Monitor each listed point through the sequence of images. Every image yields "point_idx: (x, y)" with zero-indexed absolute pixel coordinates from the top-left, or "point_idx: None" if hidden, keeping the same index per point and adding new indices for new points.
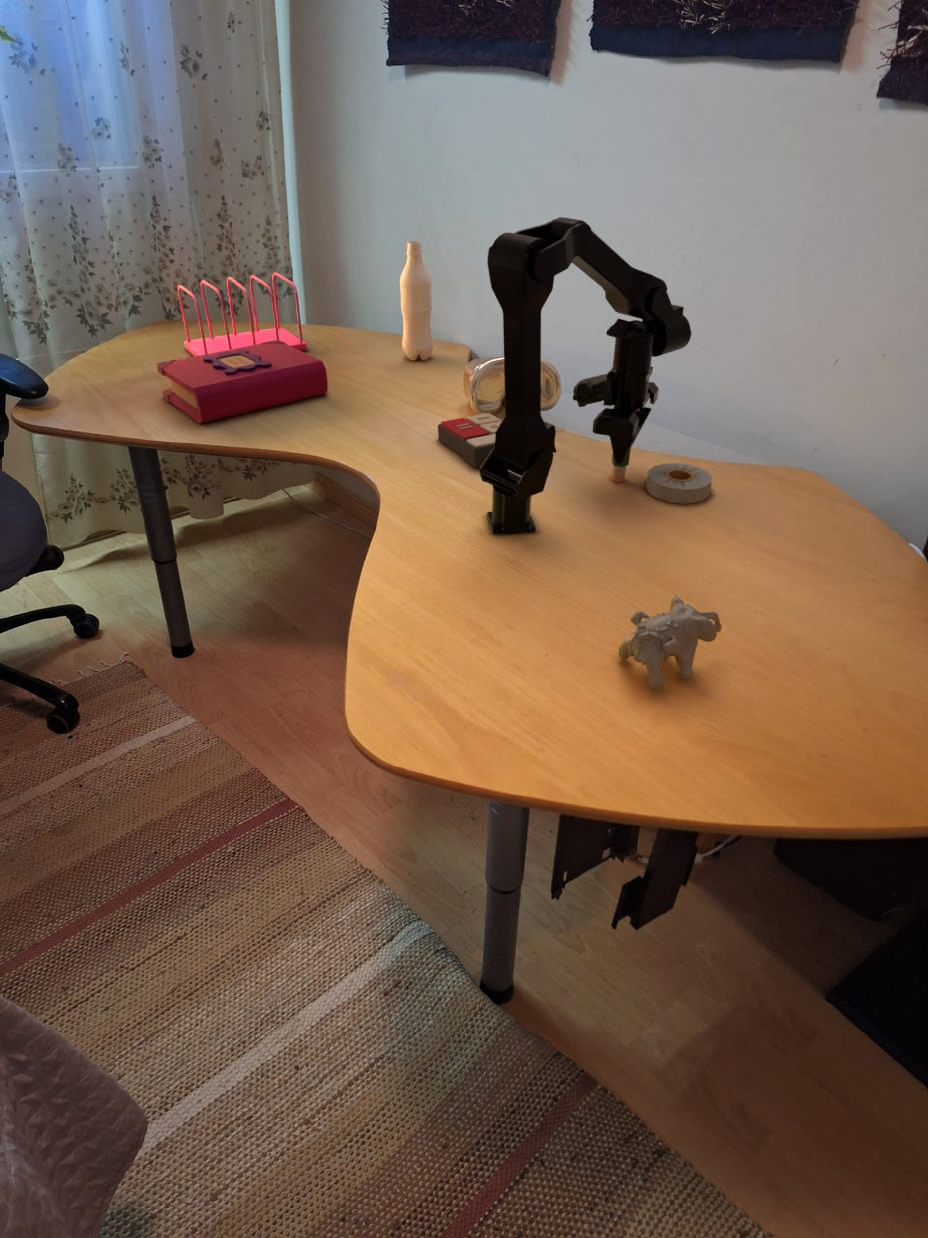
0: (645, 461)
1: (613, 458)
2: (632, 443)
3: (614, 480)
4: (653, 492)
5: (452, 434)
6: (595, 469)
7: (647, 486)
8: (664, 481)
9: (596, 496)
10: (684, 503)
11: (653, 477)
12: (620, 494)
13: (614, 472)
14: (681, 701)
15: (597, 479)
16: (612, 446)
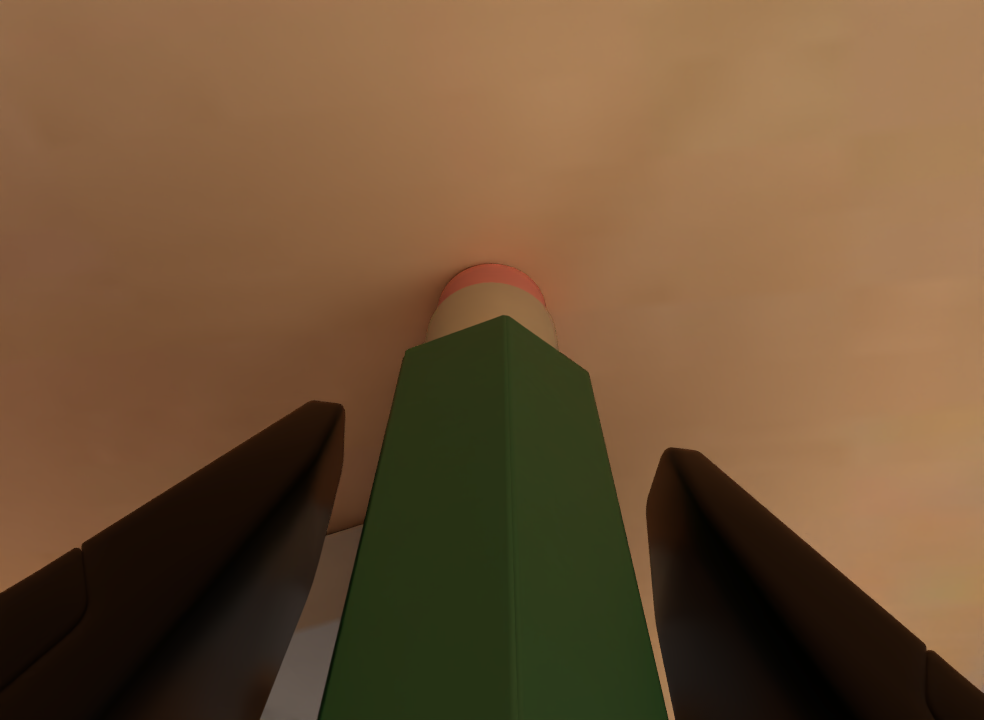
0: (929, 486)
1: (448, 370)
2: (663, 661)
3: (444, 289)
4: None
5: None
6: (716, 51)
7: (351, 547)
8: (276, 707)
9: (39, 155)
10: None
11: (316, 649)
12: (197, 357)
13: (435, 318)
14: None
15: (446, 112)
16: (93, 548)
